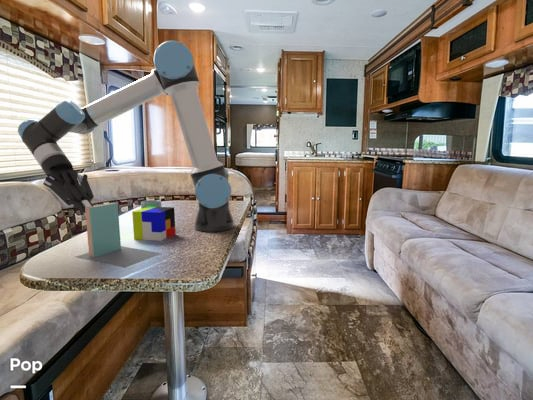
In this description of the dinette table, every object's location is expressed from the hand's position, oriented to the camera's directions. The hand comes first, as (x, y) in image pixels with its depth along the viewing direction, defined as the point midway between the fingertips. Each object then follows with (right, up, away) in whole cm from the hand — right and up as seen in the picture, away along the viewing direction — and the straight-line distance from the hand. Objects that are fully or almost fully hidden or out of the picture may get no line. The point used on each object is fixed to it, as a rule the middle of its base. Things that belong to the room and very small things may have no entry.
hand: (94, 219), depth 97 cm
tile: (+3, -10, 0) cm, 10 cm away
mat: (+8, -10, -2) cm, 14 cm away
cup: (+5, -5, +36) cm, 37 cm away
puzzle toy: (+12, -8, +19) cm, 23 cm away
